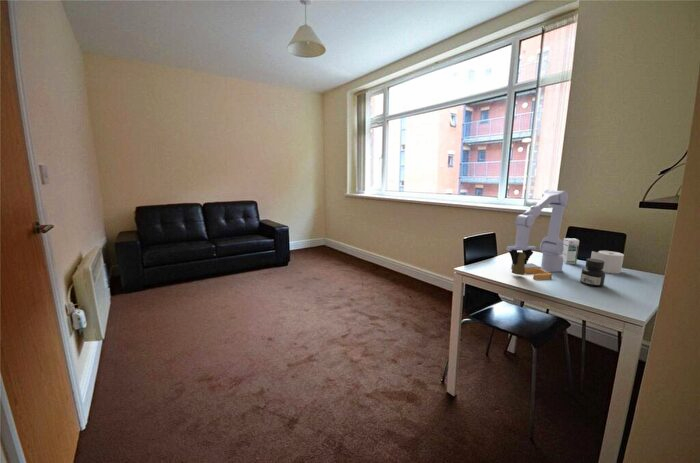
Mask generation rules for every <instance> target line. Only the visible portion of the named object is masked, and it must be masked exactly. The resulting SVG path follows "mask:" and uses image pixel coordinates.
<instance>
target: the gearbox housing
mask: <svg viewBox="0 0 700 463" xmlns="http://www.w3.org/2000/svg"><path fill="white" fill-rule="evenodd" d="M513 265H514V264H512V263H511V267H510V269H511V270H512V269H513ZM525 273H526V274H533V277H532V280H552V277H553V274H552V272H546V271H544V270H542V269H541V266H539V265H538V264H537V265H536V264H535V263H532V262H531V263H528V262H527V264H525Z"/></svg>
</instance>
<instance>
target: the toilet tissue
mask: <svg viewBox="0 0 700 463" xmlns="http://www.w3.org/2000/svg"><path fill="white" fill-rule="evenodd" d="M624 256H625V255H624V253H621V252H618V251H611V250H610V251H609V250H599V251H597V252H596V251H593V250H592V251H591V255H590V258H592V259H599V260H603V261H605V263H604V269H602V270H603V271H604V272H605V274H606V273H608V274H621V273H622V268H623V263H624V262H623V261H624Z"/></svg>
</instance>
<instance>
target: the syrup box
mask: <svg viewBox="0 0 700 463" xmlns="http://www.w3.org/2000/svg"><path fill="white" fill-rule="evenodd" d="M562 241H563V242H564V244H563V247H564V250H563V253H562V254H561V255H562V257H563V264H573V265H575V264H577V260H578V252H579V247H580V246H579V245H580V240H579V239H578V238H569V237H566V238H565V237H564V238H563V240H562Z"/></svg>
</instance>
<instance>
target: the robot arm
mask: <svg viewBox="0 0 700 463" xmlns="http://www.w3.org/2000/svg"><path fill="white" fill-rule="evenodd" d="M568 200H569V194H568V192H567V190H553V189H552V190H550V189H546V190H545V191H544V192H542V196H541V199H539V201H538V202H537V203H536V204H534V205H531V206H530V207H528V208H527V209H526V210H525V211H524V212H523V213H522V214H518V215H516V217H515V220H514V224H515V229H516V235H515V244H514V245H510V246H509V245H508V246H506V251H507V252H508V253H509V255H510V257H511V262H512V263H511V265H512V264H514V265H516V263H517V258H518V255H519V253H518V252H523V253H525V254H526V258H525V259H524V260H525V264H527V263H528V261H529V259H530V258H531V256H532V255H533V254H534V251H536V250H537V246H534V245H529V240H530V232H531V227H532V226H533V225H534V223H535V220H536V219H537V218H538V217H539V216H540V215H541V214H542V210H543V209H544V208H546V207H547V206H548V205H549V206H550V207H551V208H552V210H551V214H550V219H549V220H550V221H549V224H548V231H547V236H545V237H543V238H542V239H541V243H540V245H539V250H540V252H541V254H542V256H541V257H542V258H541V265H540V267H541V269H542V270H544V271H546V272H548V273H553V272H554V273H555V272H558V273H559V272H564V270H563V265H564V262H563V257H562V253H563V250H564V247H563V244H564V242H563V241H564V240H562V239H561V238H560V233H561V232H560V231H561V228H562V222H563V216H564V211H565V208H566V207H567V206H568V205H567V204H568Z"/></svg>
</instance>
